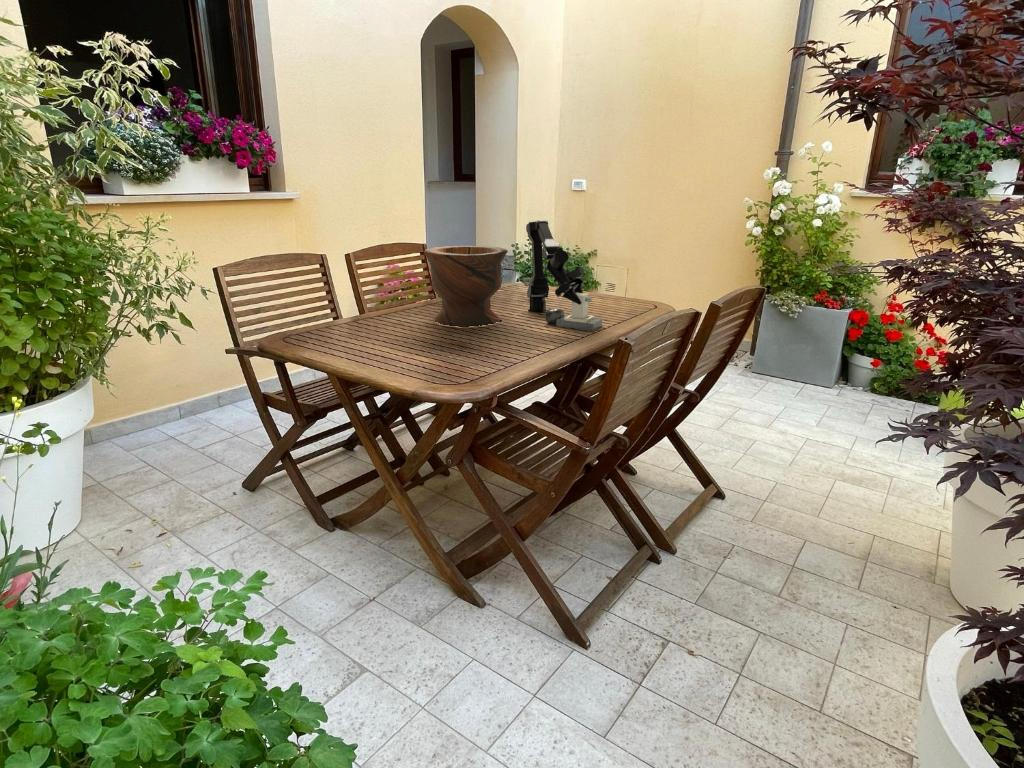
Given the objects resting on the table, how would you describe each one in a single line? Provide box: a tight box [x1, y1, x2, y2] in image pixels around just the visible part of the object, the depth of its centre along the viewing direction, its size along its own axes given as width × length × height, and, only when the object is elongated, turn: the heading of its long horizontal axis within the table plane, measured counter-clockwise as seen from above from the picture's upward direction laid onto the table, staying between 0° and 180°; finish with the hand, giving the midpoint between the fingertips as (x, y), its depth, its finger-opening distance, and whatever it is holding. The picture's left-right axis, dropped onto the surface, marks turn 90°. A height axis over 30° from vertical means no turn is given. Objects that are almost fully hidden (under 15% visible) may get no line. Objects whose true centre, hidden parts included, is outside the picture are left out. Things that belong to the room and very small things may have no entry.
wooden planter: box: [423, 245, 508, 327], centre depth 255 cm, size 34×35×29 cm
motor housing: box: [544, 308, 603, 332], centre depth 250 cm, size 22×10×6 cm, turn 62°
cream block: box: [571, 292, 592, 319], centre depth 247 cm, size 7×5×10 cm
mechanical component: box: [521, 277, 532, 287], centre depth 303 cm, size 3×10×10 cm, turn 89°
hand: (583, 302), depth 246 cm, fingers closed on cream block, 5 cm apart
